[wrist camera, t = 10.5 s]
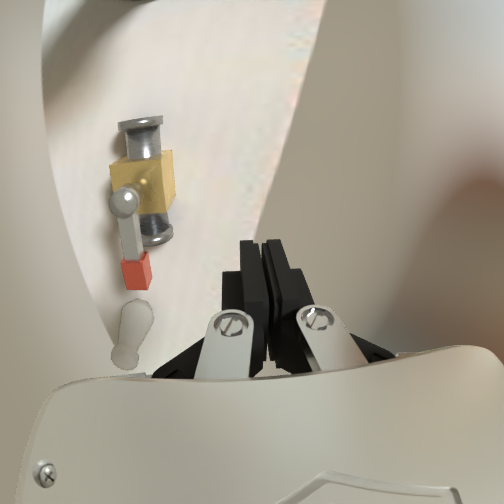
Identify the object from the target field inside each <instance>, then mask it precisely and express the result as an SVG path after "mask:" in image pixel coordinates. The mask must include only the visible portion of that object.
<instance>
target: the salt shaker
mask: <svg viewBox="0 0 504 504" xmlns="http://www.w3.org/2000/svg"><path fill="white" fill-rule="evenodd" d="M153 320H154V316H153V312H152V309H151V307H150V305H149V304H148V302H147V301H144V300H141V299H138V298H137V299H135V300H133V301H131V302H129V303H127V304H126V305H125V306H124V307H123V308H122V315H121V322H120V330H119V338H118V345H117V346H115V347H114V348H113V350H112V352H111V360H112V362H113V363H114V365H116V366H117V367H118V368H120V369H123V370H133V369H134V368H136V366H137V364H138V360H139V355H138V353H137V351H138V349H139V347H140V345H141V344H142V342H143V340H144V338H145V336H146V335H147V333H148V331H149V329H150V328H151V326H152V324H153Z"/></svg>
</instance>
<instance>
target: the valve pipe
mask: <svg viewBox="0 0 504 504" xmlns="http://www.w3.org/2000/svg"><path fill="white" fill-rule="evenodd" d="M159 124H163V116H154V117H146V118H139V119H133V120H127V121H122V122H118V130H125V138H126V149H127V155H126V156H124V157H122V158H121V159H119V160H117V161H116V162H114V163H112V164H110V165H109V168H110V175H111V182H112V189H113V193H114V192H115V191H116V190H117V189H119V188H120V187H121V186H122V185H124V184H127V183H130V184H134V185H136V186H137V187H138V188H139V189H140V190H141V193H142V203H141V205H140V206H139V207H138V216H139V224H140V231H141V238H142V244H143V246H146V247H149V246H156V245H160V244H163V243H165V242H167V241H169V240H170V239H171V238H172V237H173V227H172V225H171V224H169V222H168V214H167V211H168V209H169V207H170V205H171V203H172V201H173V199H174V198H175V196H176V193H175V182H174V171H173V158H172V150H165V151H161V142H160V127H159Z"/></svg>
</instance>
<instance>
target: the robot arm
mask: <svg viewBox="0 0 504 504" xmlns="http://www.w3.org/2000/svg"><path fill="white" fill-rule="evenodd" d="M261 256H262V257H261ZM267 344H268V351H269V357H270V361H275V363H276V368H282V369H284V370H286V371H287V372H288V375H280V376H268V377H254V376H255V375H256V374H257V373H258V372H259V371H261V370H262V369H263V361H266V354H267ZM15 504H504V365H503V364H502V363H501V362H500V360H499V359H498V358H497V357H496V356H495V355H494V354H493V353H492V352H491V351H489V350H487V349H485V348H482V347H477V346H470V345H469V346H468V345H459V346H458V345H457V346H449V347H443V348H438V349H434V350H429V351H424V352H419V353H397V355H396V356H394V355H393V354H392V353H390V352H389V351H387V350H385V349H383V348H381V347H379V346H377V345H375V344H372V343H370V342H368V341H366V340H364V339H362V338H360V337H357V336H355V335H353V334H351V333H349V332H348V331H347V329H346V327H345V326H344V325H343V323H342V321H341V320H340V319H339V317H338V315H337V314H336V313H335V312H334V311H333V310H332V309H330V308H328V307H325V306H323V305H315V304H314V301H313V299H312V296H311V293H310V290H309V288H308V285H307V283H306V280H305V278H304V275H303V273H302V271H301V269H290V267H289V264H288V261H287V258H286V255H285V252H284V249H283V246H282V244H281V240H280V239H275V240H267V242H266V243H262V255H260V250H259V246H258V243H254V244H253V240H243V241H240V271H226V272H223V273H222V311H221V312H219V313H217V314H215V315H214V316H213V317H212V318H211V320H210V322H209V324H208V328H207V332H206V335H205V337H204V338H202V339H201V340H199V341H198V342H196V343H195V344H193V345H192V346H191V347H189V348H188V349H186V350H185V351H183V352H182V353H180V354H179V355H177V356H176V357H175V358H173V359H172V360H170V361H169V362H167V363H166V364H164V365H163V366H161V367H160V368H158V369H157V370H156V371H155V372H154V373H153V375H146V373H145V372H144V373H137V374H129V375H121V376H112V377H99V378H90V379H83V380H79V381H75V382H71V383H68V384H65V385H63V386H60V387H58V388H57V389H55V390H54V391H53V392H52V393H51V394H50V395H49V396H48V397H47V399H46V400H45V402H44V403H43V405H42V407H41V409H40V411H39V413H38V415H37V417H36V420H35V422H34V425H33V427H32V430H31V433H30V436H29V439H28V442H27V445H26V449H25V452H24V456H23V461H22V465H21V470H20V475H19V480H18V486H17V492H16V498H15Z"/></svg>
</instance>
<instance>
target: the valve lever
mask: <svg viewBox="0 0 504 504" xmlns="http://www.w3.org/2000/svg"><path fill="white" fill-rule="evenodd" d="M141 203H142V193H141V190H140V189H139V188H138V187H137V186H136V185H134V184H130V183H127V184H124V185H122V186H121V187H120V188H119V189H117V190H116V191H115V192H114V193H113V194H112V195H111V196H110V199H109V208H110V210H111V212H112V213H113V214H114V215H115V216H116V217H117V220H118V226H119V232H120V238H121V243H122V249H123V254H124V258H123V260H122V262H121V267H122V271H123V275H124V280H125V284H126V288H127V290H148V288H149V285H150V282H151V280H152V273H151V267H150V261H149V255H148V252H144V251H143V244H142V238H141V231H140V224H139V216H138V207H139V206H140V205H141Z"/></svg>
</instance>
